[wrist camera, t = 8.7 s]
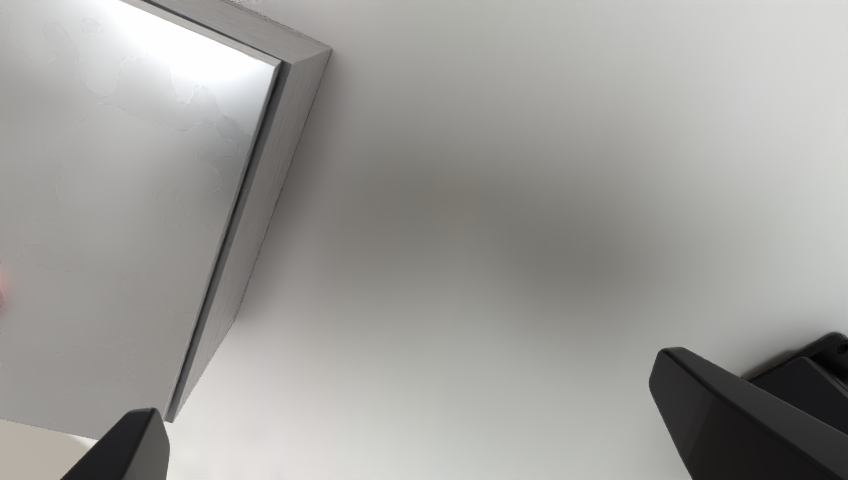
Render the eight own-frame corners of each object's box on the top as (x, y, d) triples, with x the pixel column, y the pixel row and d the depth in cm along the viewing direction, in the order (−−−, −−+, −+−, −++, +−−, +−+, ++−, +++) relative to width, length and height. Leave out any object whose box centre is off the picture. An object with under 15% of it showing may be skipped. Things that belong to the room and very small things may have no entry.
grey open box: (331, 48, 18) (291, 63, 12) (234, 321, 22) (172, 423, 17) (-42, -126, 16) (-290, -200, 10) (-68, 212, 20) (-252, 288, 15)
